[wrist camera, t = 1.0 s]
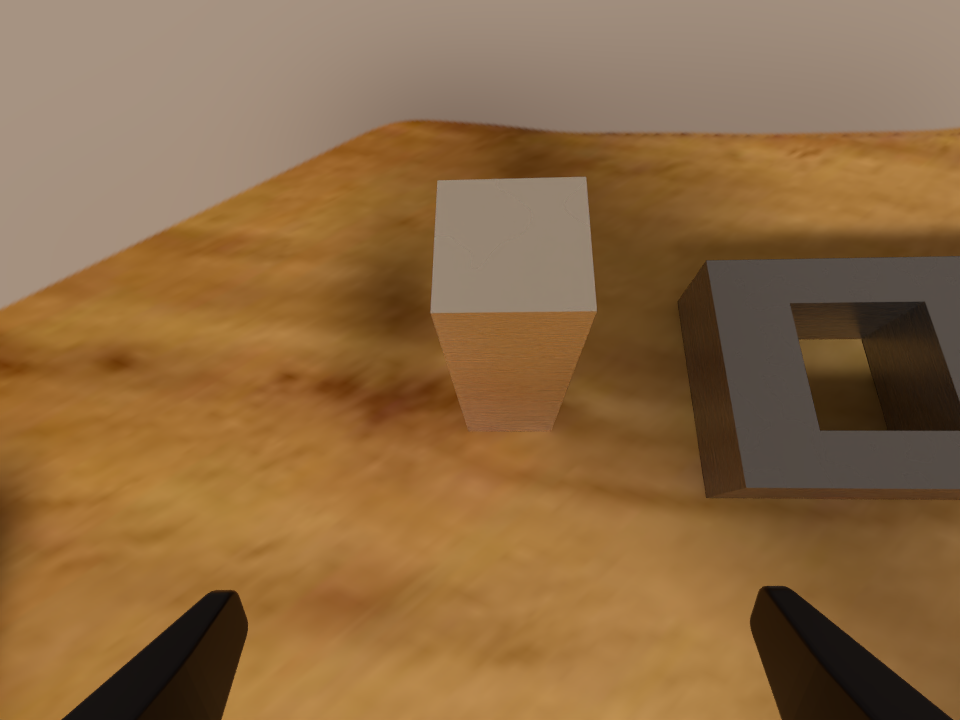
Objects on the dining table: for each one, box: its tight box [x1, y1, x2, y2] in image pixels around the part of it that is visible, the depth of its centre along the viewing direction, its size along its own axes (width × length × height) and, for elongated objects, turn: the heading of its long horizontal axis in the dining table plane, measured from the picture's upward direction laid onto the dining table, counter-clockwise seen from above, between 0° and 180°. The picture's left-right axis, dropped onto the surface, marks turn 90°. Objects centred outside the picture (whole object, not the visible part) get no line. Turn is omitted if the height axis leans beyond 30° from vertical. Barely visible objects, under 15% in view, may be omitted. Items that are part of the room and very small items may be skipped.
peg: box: [431, 177, 597, 431], centre depth 19 cm, size 4×4×13 cm
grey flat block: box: [678, 256, 960, 500], centre depth 22 cm, size 20×10×4 cm, turn 89°
